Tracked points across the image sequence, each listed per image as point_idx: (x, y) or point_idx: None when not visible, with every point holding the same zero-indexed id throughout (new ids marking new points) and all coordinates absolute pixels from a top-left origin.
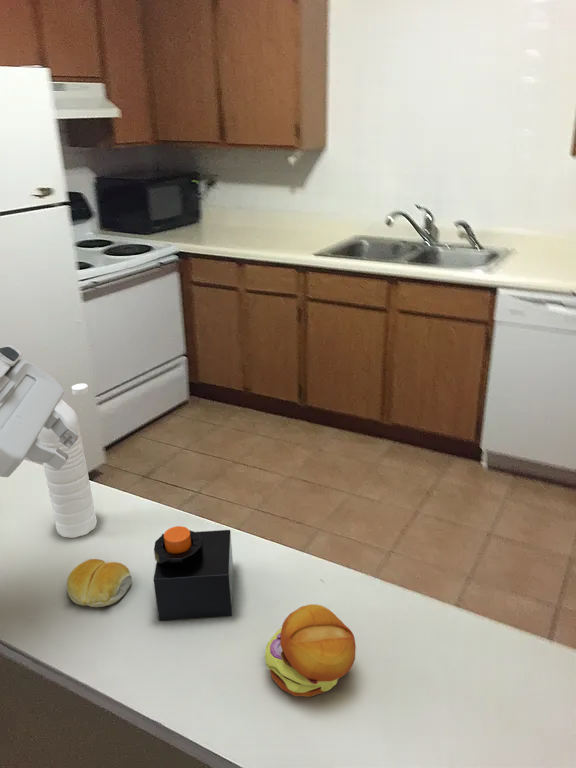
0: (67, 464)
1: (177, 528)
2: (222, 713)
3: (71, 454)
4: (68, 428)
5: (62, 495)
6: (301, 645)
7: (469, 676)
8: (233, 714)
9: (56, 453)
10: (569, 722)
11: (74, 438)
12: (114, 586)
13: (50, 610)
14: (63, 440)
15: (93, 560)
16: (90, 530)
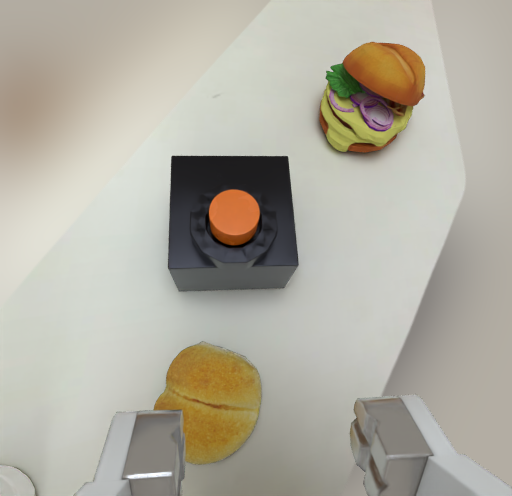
0: None
1: (217, 212)
2: (418, 201)
3: None
4: (115, 476)
5: None
6: (418, 77)
7: (354, 4)
8: (418, 191)
9: (446, 444)
10: None
11: (179, 417)
12: (240, 359)
13: (256, 480)
14: (179, 491)
15: None
16: (21, 472)
